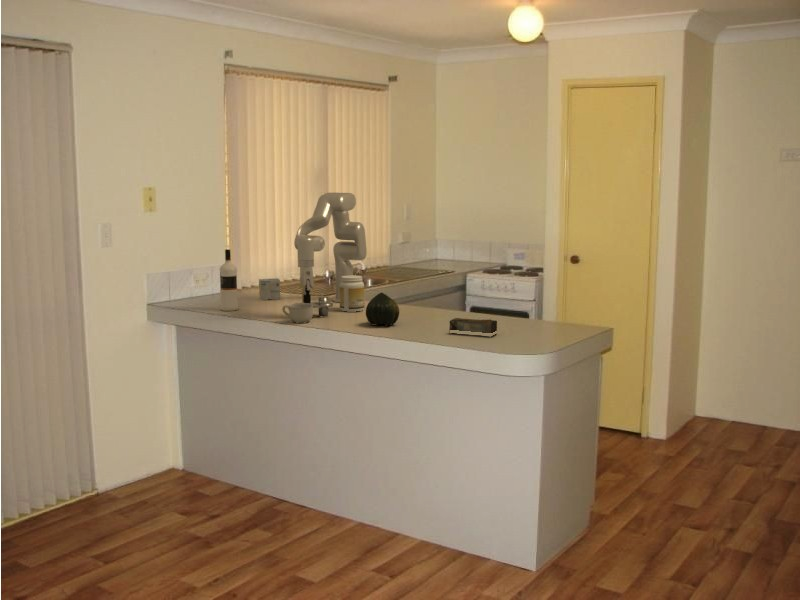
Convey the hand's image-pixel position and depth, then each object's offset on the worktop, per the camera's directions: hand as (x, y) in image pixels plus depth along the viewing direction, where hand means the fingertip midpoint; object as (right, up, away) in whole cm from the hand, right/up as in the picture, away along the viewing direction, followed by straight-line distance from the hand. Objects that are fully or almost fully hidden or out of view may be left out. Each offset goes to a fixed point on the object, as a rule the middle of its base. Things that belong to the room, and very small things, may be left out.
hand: (306, 302), depth 375 cm
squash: (+36, -10, -17) cm, 41 cm away
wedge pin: (0, -3, 0) cm, 3 cm away
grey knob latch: (+4, -7, +2) cm, 8 cm away
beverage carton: (+75, -14, -36) cm, 85 cm away
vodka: (-40, -4, +20) cm, 45 cm away
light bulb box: (-26, +1, +54) cm, 60 cm away
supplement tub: (+20, -4, +20) cm, 29 cm away
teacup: (-3, -9, -11) cm, 15 cm away
